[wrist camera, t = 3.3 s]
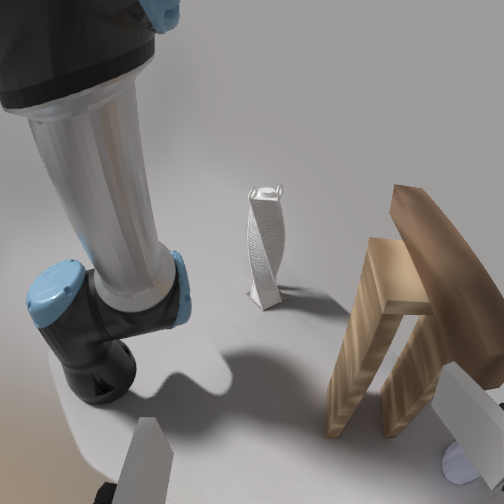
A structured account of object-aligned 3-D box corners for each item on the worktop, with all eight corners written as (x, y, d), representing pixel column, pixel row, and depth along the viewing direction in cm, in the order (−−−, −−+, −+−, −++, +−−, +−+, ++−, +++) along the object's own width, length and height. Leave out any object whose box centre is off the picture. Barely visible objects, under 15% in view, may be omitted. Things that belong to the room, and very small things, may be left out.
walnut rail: (458, 394, 13) (489, 355, 11) (389, 213, 34) (394, 184, 32) (499, 387, 12) (530, 350, 10) (416, 216, 34) (422, 188, 32)
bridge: (324, 438, 37) (387, 300, 21) (327, 387, 46) (369, 237, 29) (394, 437, 35) (495, 303, 19) (390, 388, 44) (460, 246, 27)
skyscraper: (292, 303, 65) (300, 183, 50) (262, 318, 61) (262, 193, 46) (270, 284, 71) (272, 171, 56) (242, 296, 67) (236, 179, 52)
